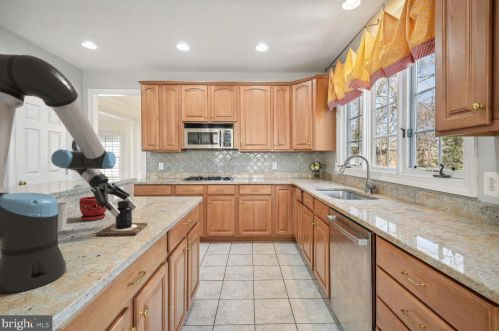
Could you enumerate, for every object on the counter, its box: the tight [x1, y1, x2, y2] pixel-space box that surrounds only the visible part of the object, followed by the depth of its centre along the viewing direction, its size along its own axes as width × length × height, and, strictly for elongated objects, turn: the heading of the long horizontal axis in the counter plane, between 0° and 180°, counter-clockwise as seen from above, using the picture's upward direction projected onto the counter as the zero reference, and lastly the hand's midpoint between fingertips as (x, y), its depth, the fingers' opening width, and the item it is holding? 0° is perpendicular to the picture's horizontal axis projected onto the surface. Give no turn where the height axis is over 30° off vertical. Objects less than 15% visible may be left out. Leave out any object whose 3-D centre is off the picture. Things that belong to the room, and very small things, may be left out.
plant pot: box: [78, 196, 108, 222], centre depth 131 cm, size 13×13×12 cm
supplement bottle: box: [114, 200, 133, 229], centre depth 110 cm, size 7×7×12 cm
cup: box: [57, 202, 69, 232], centre depth 111 cm, size 8×8×12 cm
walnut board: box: [95, 222, 148, 237], centre depth 110 cm, size 16×16×2 cm
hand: (126, 211), depth 110 cm, fingers open, 13 cm apart
